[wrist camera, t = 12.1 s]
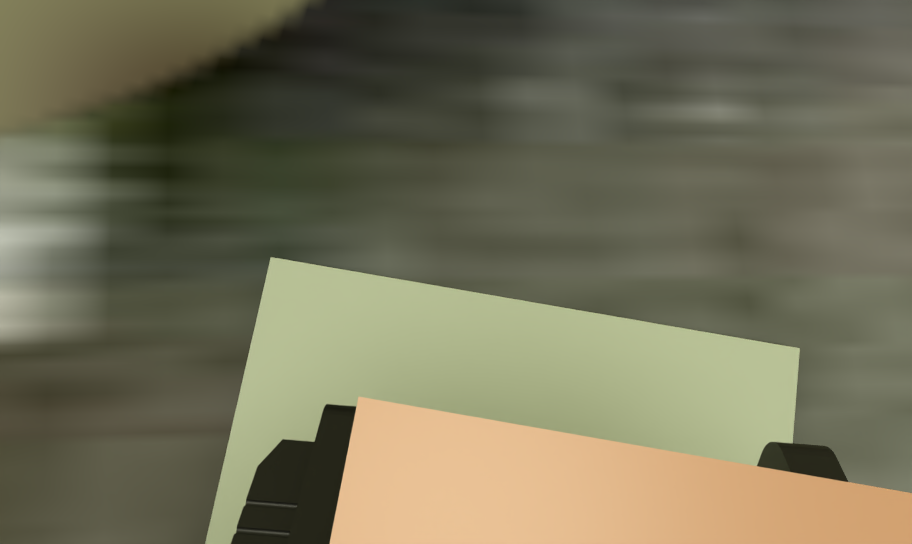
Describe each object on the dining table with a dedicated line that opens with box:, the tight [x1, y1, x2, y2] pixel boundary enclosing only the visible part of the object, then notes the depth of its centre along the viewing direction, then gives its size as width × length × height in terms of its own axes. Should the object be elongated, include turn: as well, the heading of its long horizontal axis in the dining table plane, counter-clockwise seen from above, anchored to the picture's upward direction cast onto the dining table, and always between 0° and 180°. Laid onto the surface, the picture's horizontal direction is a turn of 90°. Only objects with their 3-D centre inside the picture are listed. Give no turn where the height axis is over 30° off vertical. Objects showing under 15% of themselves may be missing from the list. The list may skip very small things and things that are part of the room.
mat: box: [205, 257, 800, 544], centre depth 20 cm, size 14×12×1 cm
